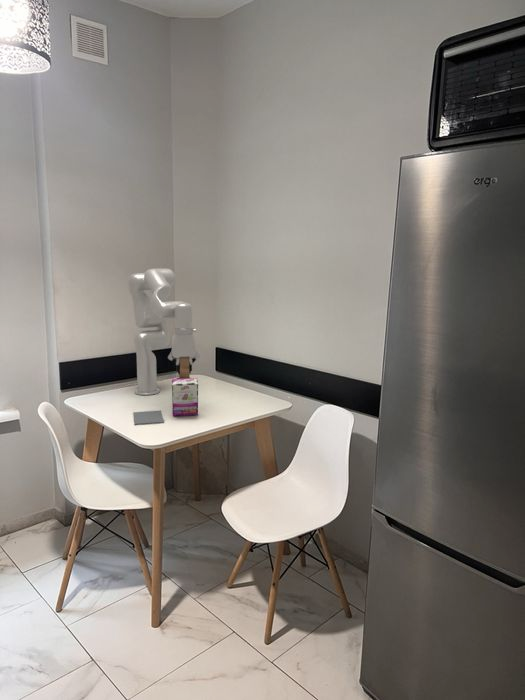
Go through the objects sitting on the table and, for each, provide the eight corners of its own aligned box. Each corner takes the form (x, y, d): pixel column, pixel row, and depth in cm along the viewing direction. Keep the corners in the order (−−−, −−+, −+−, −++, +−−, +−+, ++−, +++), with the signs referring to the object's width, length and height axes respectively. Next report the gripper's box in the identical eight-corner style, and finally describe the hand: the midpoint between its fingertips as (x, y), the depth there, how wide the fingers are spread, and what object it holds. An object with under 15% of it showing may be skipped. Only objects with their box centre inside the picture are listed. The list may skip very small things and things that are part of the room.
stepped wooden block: (176, 381, 226) (176, 354, 224) (190, 380, 228) (189, 354, 226) (178, 384, 220) (177, 357, 218) (192, 383, 222) (191, 356, 220)
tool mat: (133, 413, 225) (133, 412, 225) (160, 411, 228) (160, 410, 228) (134, 425, 210) (134, 423, 210) (164, 423, 213) (164, 421, 213)
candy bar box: (197, 408, 228) (197, 377, 221) (198, 415, 224) (198, 383, 216) (172, 409, 226) (171, 378, 218) (172, 416, 222) (172, 384, 214)
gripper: (201, 330, 226) (201, 370, 229) (163, 331, 221) (164, 372, 225) (204, 332, 219) (204, 374, 222) (164, 333, 214) (165, 376, 218)
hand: (184, 372), depth 223 cm, fingers closed on stepped wooden block, 4 cm apart
